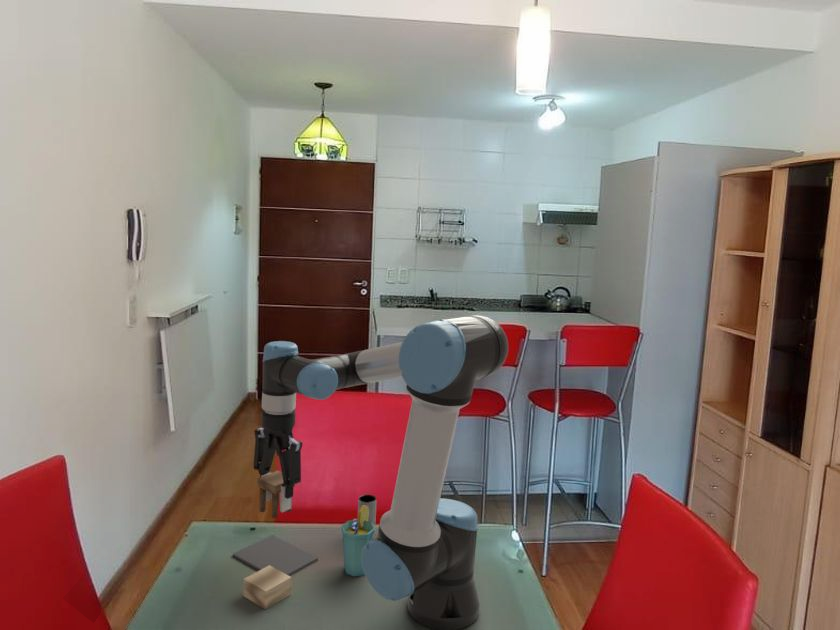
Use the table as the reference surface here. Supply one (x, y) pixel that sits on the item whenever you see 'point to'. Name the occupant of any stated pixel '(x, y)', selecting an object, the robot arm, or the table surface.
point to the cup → (356, 541)
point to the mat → (275, 555)
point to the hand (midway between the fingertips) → (275, 505)
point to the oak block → (267, 587)
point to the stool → (274, 486)
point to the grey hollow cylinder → (371, 503)
